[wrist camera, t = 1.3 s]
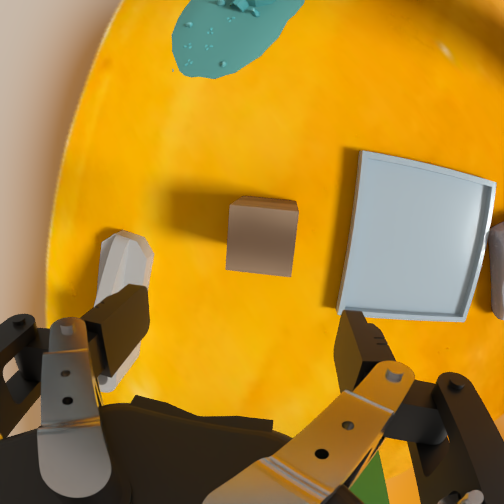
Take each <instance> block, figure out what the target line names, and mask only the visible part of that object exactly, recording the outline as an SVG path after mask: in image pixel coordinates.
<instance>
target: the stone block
mask: <svg viewBox="0 0 504 504" xmlns="http://www.w3.org/2000/svg"><path fill="white" fill-rule="evenodd" d="M488 244H489V255H490V270H491V306H492V311H493V313H494V315H495V316H496V317H497V318H498V319H501V320H504V222H501V223H499V224H497V225H496V226H494V227H492V228H490V230H489V235H488Z"/></svg>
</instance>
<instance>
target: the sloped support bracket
mask: <svg viewBox="0 0 504 504" xmlns="http://www.w3.org/2000/svg"><path fill="white" fill-rule="evenodd" d="M153 257H154V253H153V251H152V249H151V248H150V246H149V244H148V242H147V241H146V239H145V237H142V236H139V235H137V234H134V233H131V232H128V231H125V230H122V231H120V232H117V233H115V234H113V235H112V236H110V237H109V238H107V239H106V240H104V241H103V242H102V245H101V253H100V263H99V273H98V285H97V297H96V300H95V304H94V307H95V306H96V305H97V304H98V303H100V302H101V301H102V300H103V299H104V298H106V297H107V296H110V295H112V294H115V293H118V292H119V291H120V290H121V289H123V288H124V287H125V286H126V285H127V284H135V285H141V286H146V288H147V290H148V286H149V280H150V274H151V268H152V263H153ZM140 343H141V341H140V342H139V344H138V345H137V346H136V347H135V349H134V350H133V351H132V352H131V354H130V355H129V356H128V357H127V359H126V360H125V361H124V363H123V364H122V365H121V366H120V368H119V369H118V370H117V372H116V373H115V374H114V375H113V377H112V378H110V377H107V376H103V375H99V376H98V377H97V378H98V382H99V386H100V391H101V392H111V391H113V390H114V389H115V388H116V386H117V385H118V383H119V382H120V381H121V379H122V378H123V377H124V375H125V374H126V373H127V371H128V370H129V369H130V367H131V366H132V365H133V363H134V362H135V361H136V359H137V358H138V356H139V352H140Z"/></svg>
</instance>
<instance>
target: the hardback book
mask: <svg viewBox="0 0 504 504" xmlns="http://www.w3.org/2000/svg"><path fill="white" fill-rule="evenodd" d="M349 490H350V491H351V492H353V493H354V494H355V495H356V496H357V497H358V498H359V499H360V500H361V501H362V502H364V503H365V504H389V499H388V494H387V488H386V484H385V479H384V474H383V469H382V464H381V460H380V455H379V451H377V452H376V454H375V455H374V456H373V458H372V459H371V461H370V462H369V463H368V465H367V466H366V467H365V469H364V470H363V471H362V473H361V474H360V476H359V477H358V478H357V480H356V481H355V483H354V484H353V485H352V487H351V488H350V489H349Z"/></svg>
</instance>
